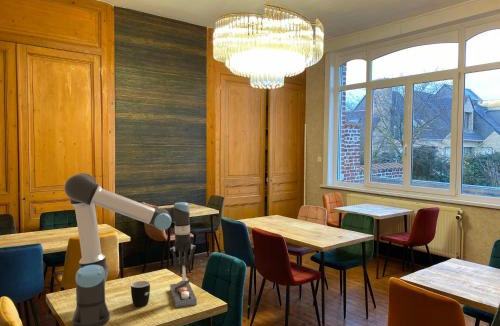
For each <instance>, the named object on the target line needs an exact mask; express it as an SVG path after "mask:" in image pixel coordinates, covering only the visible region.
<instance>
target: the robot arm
mask: <svg viewBox="0 0 500 326" xmlns="http://www.w3.org/2000/svg"><path fill="white" fill-rule="evenodd" d="M63 188H64V193H65V195H66V196H67V197H68V198H69V201H70V205H71V206H72V207H74V210H75V211H74V212H75V217H76V218H75V219H76V223H77V225H76V226H77V231H78V239H79V246H80V253H81V254H80V255H81V258H80V259H79V261H78V265H79V269H78V270H77V271H76V273H75V279H74V280H75V292H76V293H75V294H76V295H75V300H76V306H75V310H74V314H73V315H72V316H73V317H72V322H71V323H72V326H103V325H105V324H107V323H108V322H109V321H110V319H111V315H110V314H111V313H110V311H109V308H108V306H107V302H106V289H105V288H106V283H107V278H108V277H109V273H110V271H109V265H108V264H107V259H106V255H104V254H103V253H102V247H101V241H100V233H99V226H98V219H97V218H98V217H97V211H96V206H98V207H100V208H104V209H106V210H109V211H112V212H115V213H117V214H120V215H123V216H126V217H128V218H131V219H133V220H137V221H138V222H139V221H140V222H143V223H146V224H147V225H151V226H153V227H154V228H156V229H157V230H160V231H166V230H168V229H169V228H170V226H171V224H173V223H174V233H175V234H174V244H173V246H172V247H170V248H169V250H170V252H171V253H172V257H173V259H174V263H175V266H176V268H179V274H180V275H181V281H182V280H183V281H186V278H187V274H188V273H189V271H188V268H189V266H192V263H193V256H194V252H195V251H196V248H197V247H196V245H195V244H192V242H191V223H190V221H191V218H190V217H191V216H190V214H191V213H190V204H189V203H188V202H184V201H180V202H175V203H174V204H173V206H172V207H155V208H154V207H152V206H149V205H146V204H144V203H141V202H138V201H136V200H133V199H131V198H128V197H125V196H123V195H121V194H117V193H115V192H111V190H110V191H109V190H107V189H104V188H102V187H101V185H100V184H98V183H97V181H96V179H95V178H94V176H93V175H91V174H90V173H86V172H82V173H81V172H80V173H77V174H75V175H72V176H70V177H69V178H68V179H67V180H66V181H65V184H64V187H63ZM189 250H190V251H189ZM176 251H178V254H179V255H178V258H177V254H176ZM188 251H189V252H190V253H189V256H188ZM183 254H184V255H183ZM183 256H184V260H183ZM183 261H184V265H183Z"/></svg>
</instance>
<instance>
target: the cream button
mask: <svg viewBox="0 0 500 326" xmlns="http://www.w3.org/2000/svg"><path fill="white" fill-rule="evenodd" d="M185 299H189V292H188V291H184V292H181V300H185Z"/></svg>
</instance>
